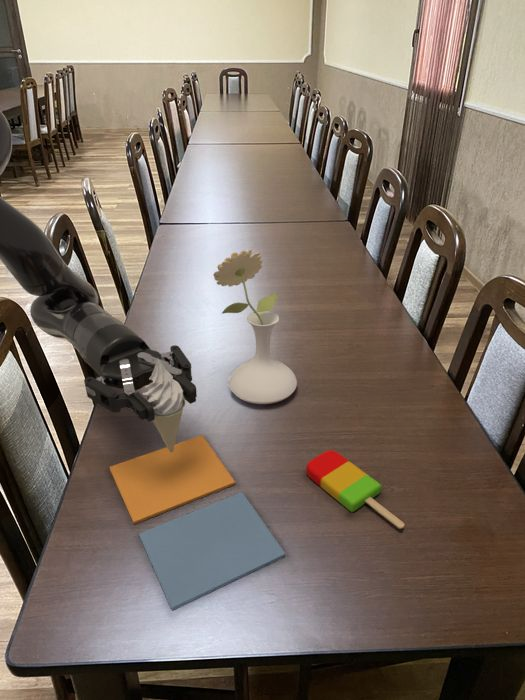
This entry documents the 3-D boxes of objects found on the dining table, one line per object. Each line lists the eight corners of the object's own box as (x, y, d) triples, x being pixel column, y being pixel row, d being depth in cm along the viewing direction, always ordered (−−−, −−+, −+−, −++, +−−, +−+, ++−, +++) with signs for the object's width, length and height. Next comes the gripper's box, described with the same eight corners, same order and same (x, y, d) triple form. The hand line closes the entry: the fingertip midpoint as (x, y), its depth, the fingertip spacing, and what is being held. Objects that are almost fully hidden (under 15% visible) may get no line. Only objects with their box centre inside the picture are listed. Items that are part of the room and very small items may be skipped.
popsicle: (330, 456, 77) (331, 446, 76) (416, 521, 67) (418, 510, 66) (302, 473, 74) (302, 463, 73) (387, 544, 64) (389, 533, 63)
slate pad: (171, 610, 57) (171, 608, 56) (139, 536, 65) (138, 533, 65) (285, 556, 62) (285, 553, 62) (242, 494, 71) (242, 491, 70)
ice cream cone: (144, 458, 70) (127, 364, 61) (164, 434, 74) (151, 342, 65) (178, 469, 68) (166, 373, 60) (197, 443, 72) (187, 350, 64)
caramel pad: (134, 524, 66) (133, 521, 66) (109, 469, 74) (109, 466, 74) (235, 484, 72) (235, 481, 72) (202, 437, 80) (202, 434, 80)
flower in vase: (290, 369, 96) (295, 234, 83) (302, 408, 86) (309, 262, 73) (217, 374, 95) (210, 237, 82) (221, 414, 85) (214, 266, 72)
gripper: (55, 340, 70) (113, 403, 59) (153, 309, 77) (221, 359, 66) (65, 387, 74) (122, 455, 63) (157, 353, 81) (222, 407, 70)
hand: (172, 405), depth 65 cm, fingers closed on ice cream cone, 5 cm apart
